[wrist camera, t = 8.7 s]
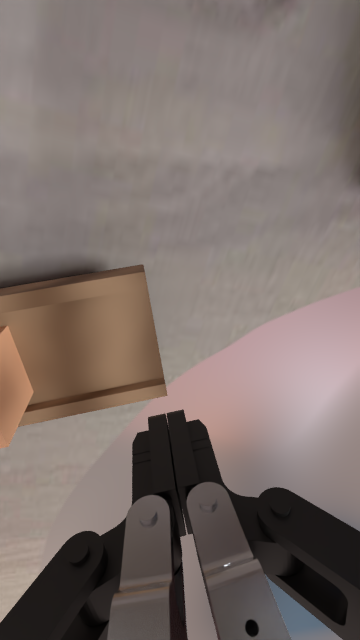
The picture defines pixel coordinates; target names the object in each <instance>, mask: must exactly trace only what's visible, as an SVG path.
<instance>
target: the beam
mask: <svg viewBox="0 0 360 640" xmlns="http://www.w3.org/2000/svg"><path fill="white" fill-rule="evenodd" d="M7 325H8V327H9V330H10V333H11V335H12V338H13V340H14V343H15V345H16V348H17V351H18V353H19V356H20V358H21V361H22V363H23V366H24V369H25V371H26V374H27V376H28V379H29V381H30V384H31V386H32V389H33V395H32V397H31V399H30V401H29V403H28V405H27V408H26V410H25V412H24V414H23V416H22V418H21V420H20V423H19V425H18V427H19V426H24V425H29V424H34V423H38V422H43V421H48V420H53V419H58V418H62V417H67V416H72V415H77V414H82V413H86V412H91V411H96V410H101V409H105V408H110V407H115V406H120V405H125V404H129V403H134V402H139V401H144V400H149V399H153V398H158V397H162V396H167V391H166V385H165V380H164V375H163V369H162V364H161V358H160V353H159V348H158V342H157V337H156V331H155V326H154V320H153V315H152V309H151V304H150V299H149V293H148V287H147V282H146V276H145V271H144V266H143V265H137V266H131V267H125V268H119V269H113V270H107V271H101V272H95V273H89V274H83V275H78V276H72V277H66V278H60V279H54V280H48V281H42V282H36V283H30V284H24V285H19V286H13V287H7V288H1V289H0V327H2V326H7Z"/></svg>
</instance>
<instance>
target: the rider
mask: <svg viewBox="0 0 360 640" xmlns="http://www.w3.org/2000/svg"><path fill="white" fill-rule="evenodd" d="M32 395H33V389H32V386H31V384H30V381H29V379H28V376H27V374H26V371H25V369H24V366H23V363H22V361H21V358H20V356H19V353H18V351H17V348H16V345H15V343H14V340H13V338H12V335H11V333H10V330H9V327H8V325H7V326H2V327H0V448H4V447H8V446H9V444H10V442H11V440H12V438H13V436H14V433H15V431H16V429H17V427H18V425H19V423H20V420H21V418H22V416H23V414H24V412H25V410H26V408H27V405H28V403H29V401H30V399H31V397H32Z"/></svg>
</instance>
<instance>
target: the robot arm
mask: <svg viewBox="0 0 360 640" xmlns="http://www.w3.org/2000/svg"><path fill="white" fill-rule="evenodd" d="M167 419H168V423H167ZM148 424H149V430H148V431H144V432H139V433H137V435H136V437H135V439H134V441H133V447H132V449H133V451H132V455H133V458H132V459H133V460H132V463H133V466H132V467H133V468H132V475H133V476H132V506H131V508H130V509H129V511H128V514H127V516H126V518H125V519H124V520H123V521H122V522H121V523H120V524H119V525H118V526H117V527H115V528H113V529H111V530H110V531H108V532H106V533H105V534H103V535H101V536H99V535H98V534H97V533H95V532H92V531H83V532H81V533H78V534H76V535H74V536H72V537H71V538H70V539H69V540H67V541H66V543H65V544H64V545H63V546H62V547H61V549H60V550H59V551H58V552H57V553H56V555H55V556H54V557H53V558H52V560H51V561H50V562H49V563H48V565H47V566H46V567H45V568H44V570H43V571H42V572H41V573H40V575H39V576H38V577H37V578H36V579H35V581H34V582H33V583H32V584H31V586H30V587H29V588H28V589H27V591H26V592H25V593H24V594H23V596H22V597H21V598H20V599H19V601H18V602H17V603H16V604H15V606H14V607H13V608H12V609H11V610H10V612H9V613H8V614H7V615H6V617H5V618H4V619H3V620H2V622H1V623H0V640H188V637H187V625H186V608H185V592H184V576H183V562H182V548H181V540H180V537H181V536H185V535H186V530H185V523H186V527H187V532H188V534H193V537H194V542H195V547H196V551H197V556H198V560H199V564H200V568H201V573H202V576H203V580H204V584H205V589H206V593H207V597H208V601H209V605H210V609H211V613H212V617H213V621H214V625H215V629H216V634H217V638H218V640H291V637H290V635H289V633H288V630H287V628H286V625H285V623H284V620H283V618H282V615H281V613H280V611H279V608H278V606H277V603H276V601H275V599H274V596H273V594H272V591H271V589H270V586H269V584H268V581H267V579H266V576H265V574H266V575H267V577H268V578H269V579H270V580H271V581H272V582H274V583H275V584H276V585H277V586H279V587H280V588H281V589H282V590H283V591H285V592H286V593H287V594H288V595H290V596H291V597H292V598H293V599H294V600H295V601H297V602H298V603H299V604H300V605H302V606H303V607H304V608H305V609H306V610H308V611H309V612H310V613H311V614H312V615H314V616H315V617H316V618H317V619H319V620H320V621H321V622H322V623H324V624H325V625H326V626H327V627H328V628H330V629H331V630H332V631H333V632H334V633H336V634H337V635H338V636H339V637H340V638H342V639H343V640H360V532H359V531H358V530H356V529H354V528H353V527H351V526H349V525H348V524H346V523H344V522H342V521H341V520H339V519H337V518H335V517H334V516H332V515H331V514H329V513H327V512H325V511H324V510H322V509H320V508H318V507H317V506H315V505H313V504H312V503H310V502H308V501H307V500H305V499H303V498H301V497H300V496H298V495H296V494H295V493H293V492H291V491H289V490H287V489H284V488H277V487H275V488H270V489H267V490H265V491H264V492H262V493H261V495H260V496H259V498H255V497H245V496H240V495H237V494H235V493H233V492H232V491H230V490H229V489H228V488H227V487H226V486H225V485H224V483H223V481H222V478H221V475H220V471H219V468H218V465H217V461H216V459H215V455H214V451H213V449H212V445H211V442H210V439H209V435H208V432H207V428H206V427H205V425H204V424H203V423H202V422H201V421H200V420H194V421H189V422H186V418H185V414H184V410H179V411H174V412H170V413H167V418H166V415H165V414H161V415H156V416H151V417H148ZM168 426H169V427H168ZM182 509H183V510H182ZM183 514H184V517H183ZM184 518H185V523H184ZM264 573H265V574H264Z"/></svg>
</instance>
